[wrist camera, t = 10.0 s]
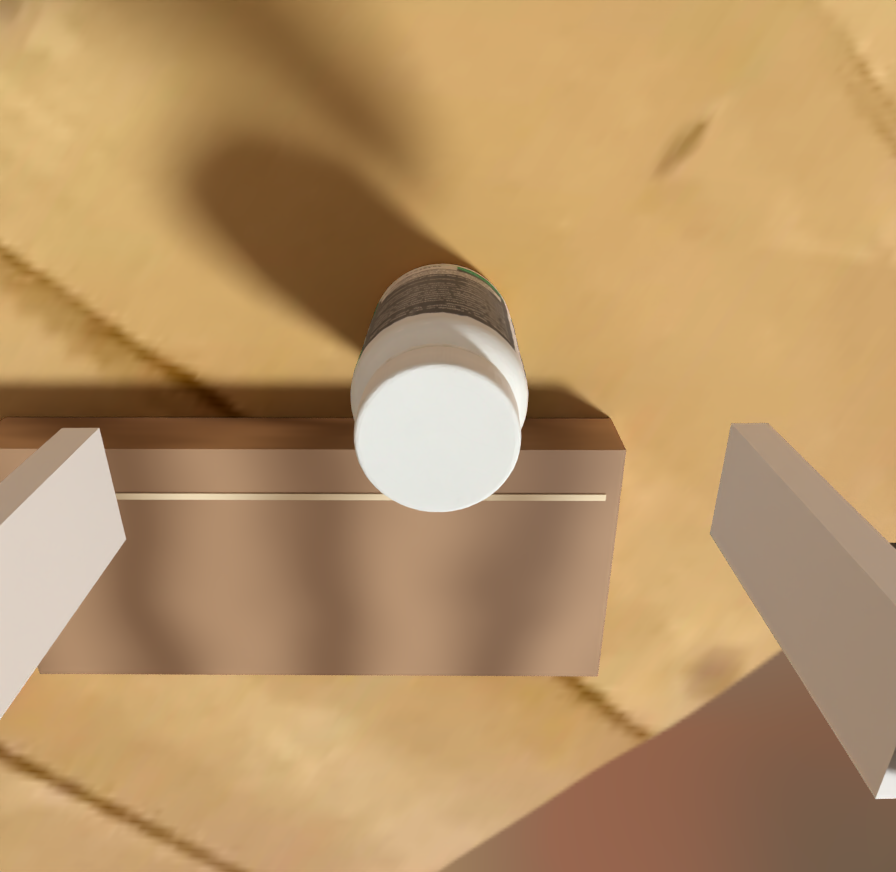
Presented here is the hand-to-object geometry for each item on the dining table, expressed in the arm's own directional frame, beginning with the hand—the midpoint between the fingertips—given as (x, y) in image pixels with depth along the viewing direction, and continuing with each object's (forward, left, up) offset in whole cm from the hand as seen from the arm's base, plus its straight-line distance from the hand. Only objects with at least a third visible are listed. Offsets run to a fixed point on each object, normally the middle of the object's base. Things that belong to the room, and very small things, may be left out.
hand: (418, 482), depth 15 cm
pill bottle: (0, 0, -10) cm, 10 cm away
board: (-5, -8, -10) cm, 14 cm away
